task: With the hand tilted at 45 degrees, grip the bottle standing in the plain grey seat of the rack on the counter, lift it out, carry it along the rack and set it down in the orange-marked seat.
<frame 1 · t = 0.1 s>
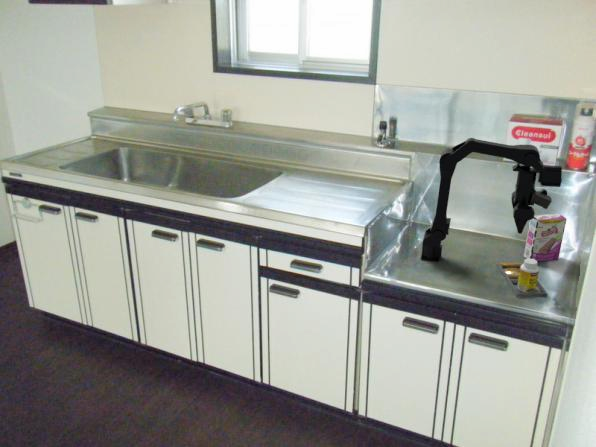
hand: (519, 228, 195), 15 cm above the table, tool pointing down, fingers open, 9 cm apart
rack: (520, 280, 192), on the table
supplement bottle: (526, 290, 186), resting in rack
candy bar box: (540, 259, 206), on the table
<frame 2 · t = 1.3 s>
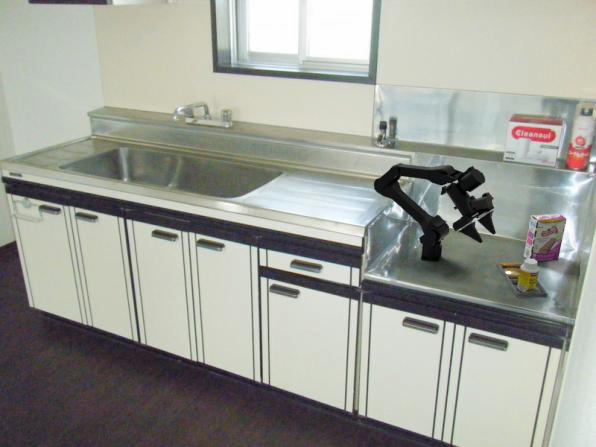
hand: (488, 238, 190), 14 cm above the table, tool tilted 45°, fingers open, 9 cm apart
nothing on the table moved.
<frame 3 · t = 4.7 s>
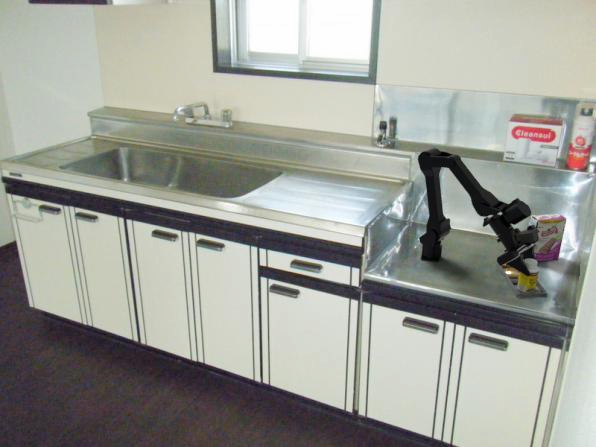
hand: (533, 272, 183), 7 cm above the table, tool tilted 45°, fingers closed on supplement bottle, 5 cm apart
supplement bottle: (526, 290, 186), resting in rack, touching gripper
everything else where it was.
when the fingers open (8 cm above the table, at t = 8.2 s): supplement bottle drops 1 cm, resting on rack.
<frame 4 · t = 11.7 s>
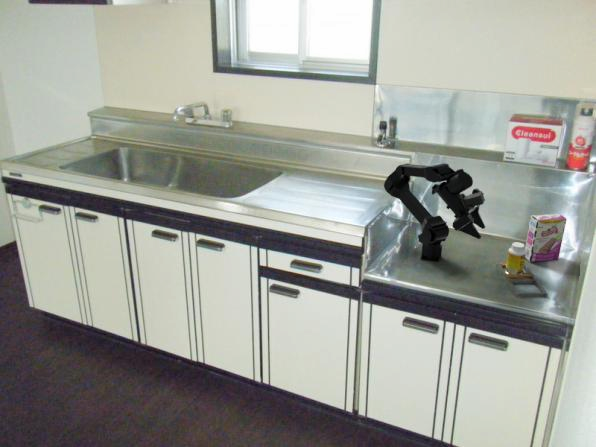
hand: (482, 233, 194), 14 cm above the table, tool tilted 45°, fingers open, 9 cm apart
supplement bottle: (513, 272, 197), resting on rack
everything else where it was.
at the end: supplement bottle inside the target area on the rack (0.2 cm from its centre), point 0.0 cm above the rack's base; supplement bottle tilted 1°; the gripper is holding nothing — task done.
